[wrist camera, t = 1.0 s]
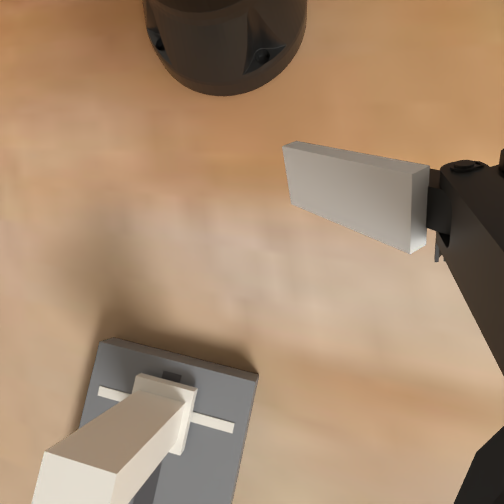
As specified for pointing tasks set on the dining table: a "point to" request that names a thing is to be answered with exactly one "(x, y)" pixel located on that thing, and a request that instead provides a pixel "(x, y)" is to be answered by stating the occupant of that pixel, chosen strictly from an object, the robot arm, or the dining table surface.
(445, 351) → the dining table surface
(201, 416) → the slider console
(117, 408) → the fader tab
